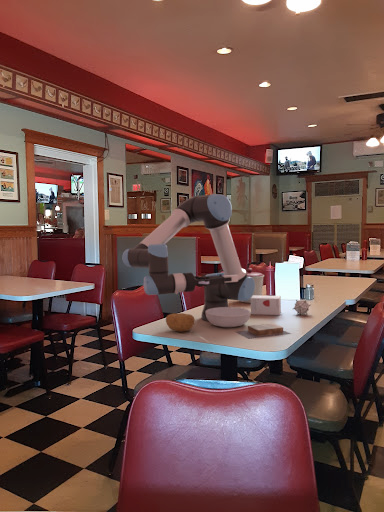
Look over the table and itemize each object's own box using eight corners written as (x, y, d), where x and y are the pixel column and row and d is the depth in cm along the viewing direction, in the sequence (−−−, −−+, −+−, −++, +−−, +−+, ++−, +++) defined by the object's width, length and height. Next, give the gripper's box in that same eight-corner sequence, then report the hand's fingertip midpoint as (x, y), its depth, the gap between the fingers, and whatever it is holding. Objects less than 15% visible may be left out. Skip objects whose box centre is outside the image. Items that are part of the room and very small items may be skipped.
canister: (252, 305, 241) (251, 269, 240) (229, 302, 254) (228, 268, 253) (270, 301, 253) (270, 267, 252) (248, 298, 266) (247, 266, 265)
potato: (173, 327, 189) (173, 310, 188) (199, 330, 181) (198, 313, 181) (160, 331, 181) (160, 314, 180) (186, 335, 173) (186, 317, 173)
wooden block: (258, 330, 168) (283, 327, 172) (247, 325, 176) (272, 323, 180) (258, 336, 168) (283, 333, 172) (247, 331, 176) (272, 328, 180)
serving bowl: (214, 332, 177) (214, 317, 176) (200, 322, 197) (199, 308, 196) (258, 328, 182) (258, 313, 182) (240, 319, 203) (239, 305, 202)
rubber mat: (248, 339, 164) (248, 338, 164) (234, 332, 176) (234, 331, 176) (291, 334, 171) (291, 333, 171) (274, 328, 183) (274, 327, 183)
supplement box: (250, 297, 214) (279, 298, 209) (252, 295, 222) (280, 295, 218) (250, 314, 214) (279, 315, 210) (253, 311, 223) (281, 312, 218)
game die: (298, 322, 211) (287, 307, 210) (302, 313, 218) (290, 299, 217) (313, 315, 205) (301, 300, 205) (316, 306, 212) (304, 291, 212)
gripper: (178, 289, 167) (230, 285, 175) (189, 294, 154) (244, 289, 162) (177, 271, 166) (230, 267, 174) (188, 274, 154) (244, 270, 162)
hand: (237, 278), depth 168 cm, fingers closed
